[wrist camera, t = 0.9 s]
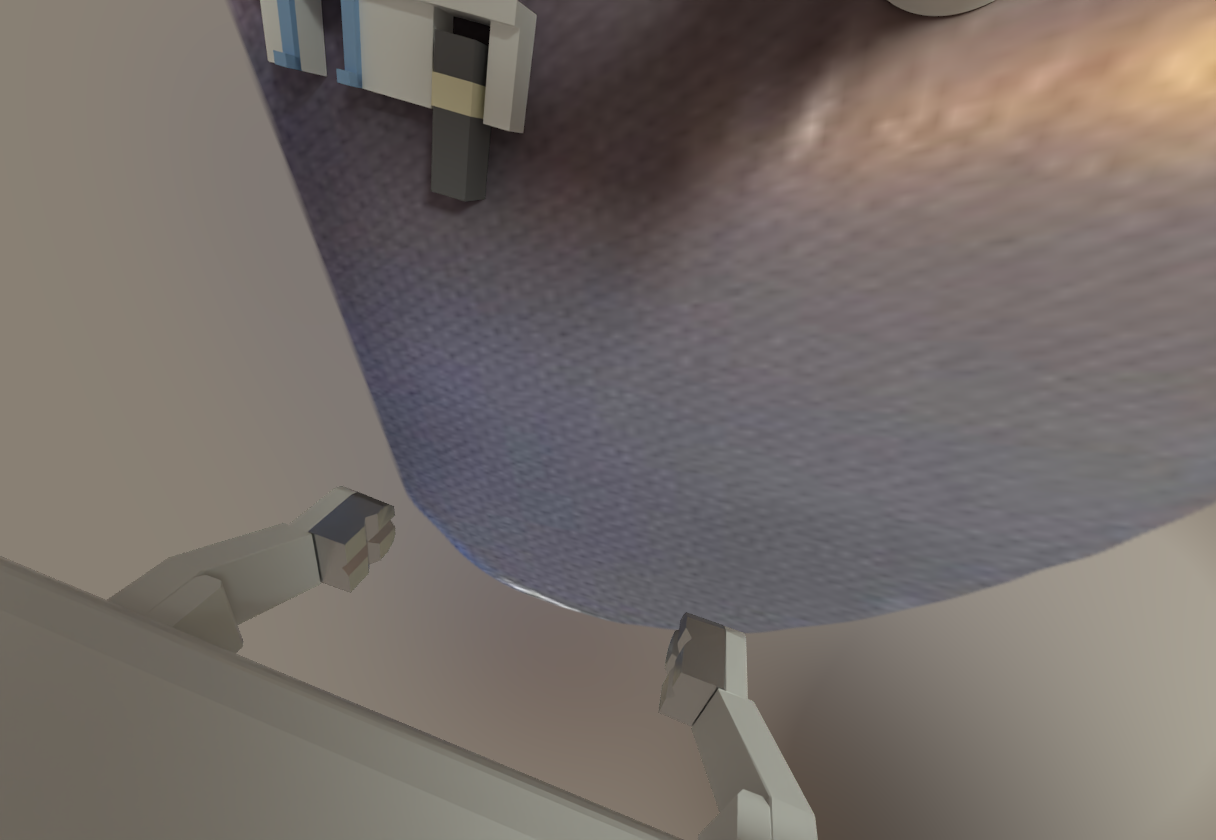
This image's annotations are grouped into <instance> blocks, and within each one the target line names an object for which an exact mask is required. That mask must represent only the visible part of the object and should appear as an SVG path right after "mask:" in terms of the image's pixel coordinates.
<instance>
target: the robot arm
mask: <svg viewBox="0 0 1216 840" xmlns="http://www.w3.org/2000/svg"><path fill="white" fill-rule="evenodd" d="M888 1H889V2H891V3H892V4H893V5H895V6H897V7H899V8H901V9H903V10H905V11H908V12H911V13H914V14H919V15H925V16H947V15H954V14H959V13H963V12H967V11H970V10H973V9H976V8H979V7H981V6H984V5H986V4H988V3H990V2H993V1H995V0H888ZM394 516H395V514H394V506H392V505H389V504H387V503H384V502H382V501H379V500H376V499H374V498H372V497H369V496H367V495H364V494H362V493H359V492H356V491H354V490H351V489H348V488H346V487H343V486H340V487H337V488H334V489H333V490H332V491H330V492H329V493H328V494H327V495H325V496H324V497H323V498H322V499H320V500H319V501H318V502H316V503H315V504H314V505H313V506H311V507H310V508H309V509H308V510H306V511H305V512H304V513H303V514H301V515H300V516H299V517H298V518H296V519H295V520H294V521H292V523H290V524H289V525H287V524H284V523H282V524H279V525H275V526H272V527H269V528H265V529H262V530H259V531H255V532H252V533H249V534H245V535H242V536H239V537H235V538H232V539H229V540H225V541H222V542H219V543H216V544H212V545H209V546H205V547H203V548H199V549H196V550H192V551H189V552H186V553H182V554H179V555H176V556H173V557H169V558H167V559H166V560H164V561H163V562H162V563H160V564H159V565H157V566H156V567H154V568H153V569H151V570H150V571H148V572H147V573H146V574H144V575H143V576H141V577H140V578H138V579H137V580H135V581H134V582H132V583H131V584H130V585H128V586H126V587H125V588H124V589H122V590H121V591H119V592H118V593H116V594H115V595H114V596H112V597H110V598H109V599H107V600H105V599H103V598H100V597H98V596H95V595H93V594H91V593H88V592H86V591H83V590H81V589H78V588H76V587H74V586H71V585H69V584H67V583H64V582H62V581H59V580H56V579H55V578H52V577H50V576H47V575H45V574H42V573H40V572H38V571H35V570H33V569H31V568H28V567H25V566H23V565H21V564H18V563H16V562H14V561H11V560H9V559H6V558H4V557H2V556H0V840H683V839H681V838H678V837H676V836H673V835H671V834H669V833H666V832H663V831H661V830H659V829H657V828H654V827H652V826H649V825H647V824H645V823H642V822H640V821H637V820H635V819H633V818H630V817H628V816H625V815H623V814H620V813H618V812H615V811H613V810H611V809H608V808H606V807H604V806H601V805H599V804H596V803H594V802H591V801H589V800H587V799H584V798H582V797H580V796H577V795H575V794H572V793H570V792H568V791H565V790H563V789H560V788H558V787H555V786H553V785H551V784H548V783H546V782H543V781H541V780H539V779H536V778H534V777H532V776H529V775H527V774H524V773H522V772H519V771H517V770H515V769H512V768H510V767H507V766H505V765H503V764H500V763H498V762H495V761H493V760H490V759H488V758H486V757H483V756H481V755H479V754H476V753H474V752H471V751H469V750H466V749H464V748H462V747H459V746H457V745H454V744H452V743H450V742H447V741H445V740H442V739H440V738H438V737H435V736H433V735H430V734H428V733H425V732H423V731H421V730H418V729H416V728H414V727H411V726H409V725H406V724H404V723H402V722H399V721H397V720H394V719H392V718H389V717H387V716H385V715H382V714H380V713H378V712H375V711H373V710H370V709H368V708H366V707H363V706H361V705H358V704H356V703H353V702H351V701H349V700H346V699H344V698H341V697H339V696H336V695H334V694H332V693H329V692H327V691H325V690H322V689H320V688H317V687H315V686H312V685H310V684H308V683H305V682H303V681H300V680H298V679H296V678H293V677H291V676H288V675H286V674H284V673H281V672H279V671H276V670H274V669H271V668H269V667H266V666H264V665H262V664H259V663H257V662H254V661H252V660H250V659H247V658H245V657H243V656H240V655H238V654H236V653H237V652H238V651H239V650H240V649H241V648H242V647H243V639H242V636H241V634H240V631H239V628H238V625H239V624H241V623H243V622H245V621H247V620H249V619H251V618H253V617H255V616H257V615H259V614H261V613H263V612H265V611H267V610H269V609H271V608H273V607H275V606H277V605H279V604H281V603H283V602H285V601H287V600H289V599H291V598H294V597H295V596H298V595H300V594H302V593H304V592H306V591H308V590H310V589H312V588H314V587H316V586H318V585H320V584H321V582H322V583H325V584H328V585H330V586H333V587H336V588H339V589H342V590H345V591H347V592H350V593H351V592H352V591H353V590H354V589H355V588H356V587H357V585H358V584H359V583H360V582H361V581H362V580H363V579H364V578H365V577H366V576H367V575H368V573H369V565H370V564H372V563H374V562H377V561H379V560H381V559H382V558H383V557H384V556H385V554H386V553H387V552H388V551H389V549H390V547H391V545H392V543H393V541H394V537H395V526H394V525H393V523H392V522H391V519H392V518H393V517H394ZM665 670H666V672H667V677H666V679H665V681H664V683H663V685H662V690H661V697H660V704H659V713H660V714H663V715H665V716H668V717H670V718H672V719H675V720H677V721H679V722H682V723H684V724H687V725H689V726H691V727H692V728H691V729H692V732H693V735H694V738H695V741H696V744H697V747H698V750H699V753H700V756H701V759H702V762H703V765H704V768H705V771H706V774H707V777H708V780H709V783H710V786H711V789H712V792H713V795H714V797H715V800H716V804H717V806H718V809H719V812H720V813H719V814H718V815H717V816H716V817H715V818H714V819H713V820H712V821H711V822H710V823H709V824H708V825H707V826H706V827H705V828H704V830H703V831H702V832H701V833H700V834H699V836H698V840H818V839H817V831H816V822H815V815H814V814H813V812H812V810H811V808H810V806H809V804H808V802H807V800H806V799H805V797H804V795H803V793H802V791H801V789H800V787H799V785H798V784H797V782H796V780H795V778H794V776H793V774H792V772H791V771H790V769H789V767H788V765H787V763H786V761H785V759H784V757H783V756H782V754H781V752H780V750H779V748H778V746H777V744H776V743H775V741H774V739H773V737H772V735H771V733H770V731H769V729H768V728H767V726H766V724H765V722H764V720H763V718H762V716H761V714H760V713H759V711H758V709H757V707H756V705H755V703H754V701H751V700H749V699H748V696H747V659H746V637H745V634H744V633H742V632H739V631H737V630H734V629H731V628H728V627H725V626H723V625H721V624H719V623H716V622H713V621H710V620H707V619H704V618H701V617H698V616H696V615H693V614H690V613H687V612H686V613H685V614H684V615H683V616H682V618H681V620H680V627H679V630H676V631H675V632H674V634H673V637H672V639H671V642H670V645H669V648H668V652H667V657H666V662H665Z"/></svg>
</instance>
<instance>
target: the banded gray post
mask: <svg viewBox="0 0 1216 840" xmlns="http://www.w3.org/2000/svg"><path fill="white" fill-rule="evenodd" d="M488 51H489V46H487V45H485V44H483V43H481V42H478V41H476V40H474V39H470V38H467V37H463V36H459V35H456V34H452V33H448V32H445V31H441V30H437V29H435V44H434V71H432V95H431V105H432V106H433V126H432V167H431V191H432V192H435V193H439V194H442V195H445V196H448V197H451V198H455V199H458V200H461V201H464V202H466V201H474V200H482V199H485V193H486V181H487V169H488V157H489V145H490V133H491V126H489V125H486V124H483V118H484V104H485V91H486V78H487V64H488Z"/></svg>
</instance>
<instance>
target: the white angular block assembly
mask: <svg viewBox="0 0 1216 840" xmlns="http://www.w3.org/2000/svg"><path fill="white" fill-rule="evenodd" d="M260 4H261V12H262V19H263V27H264V34H265V42H266V50H267V57H268V61H269V62H273V63H275V64H276V65H280V66H283V67H286V68H291V69H295V70H300V71H304V72H309V73H313V74H318V75H322V76H327V70H326V57H325V44H324V31H323V18H322V5H321V0H260ZM341 13H342V30H343V47H344V63H345V70H342V69H338V68H336V71H337V82H338V83H341V84H345V85H348V86H353V87H357V88H362V89H366V90H369V91H372V92H376V93H379V94H383V95H386V96H390V97H393V98H397V99H400V100H403V101H407V102H410V103H414V104H417V105H421V106H424V107H427V108H431V109H433V106H432V105H431V95H432V71H434V44H435V29H437V30H441V31H445V32H448V33H452V34H453V16H454V17H458V18H462V19H465V20H469V21H473V22H476V23H480V24H484V25H488V26H490V38H489V51H488V64H487V78H486V91H485V104H484V118H483V124H486V125H489V126H493V127H496V128H500V129H503V130H507V131H510V132H517V133H523V131H524V123H525V114H526V105H527V97H528V88H529V80H530V71H531V63H532V54H533V45H534V37H535V28H536V20H537V15H536V14H535V13H533V12H532V11H531V10H529V9H528V8H527V7H526V6H524V5H523V4H522V3H520V2H519V1H518V0H341Z"/></svg>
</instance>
